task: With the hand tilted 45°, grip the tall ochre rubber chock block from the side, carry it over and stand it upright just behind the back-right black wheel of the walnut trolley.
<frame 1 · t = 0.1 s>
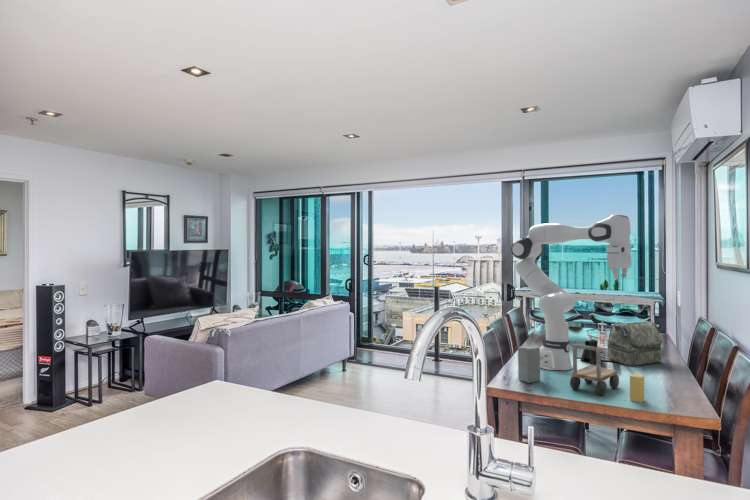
hand: (620, 278, 210), 48 cm above the table, tool pointing down, fingers open, 8 cm apart
trolley: (594, 388, 198), on the table
gray hexagonal prism: (529, 380, 211), on the table
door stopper: (591, 362, 242), on the table
lunch bag: (634, 361, 243), on the table
wheel chock: (637, 400, 182), on the table
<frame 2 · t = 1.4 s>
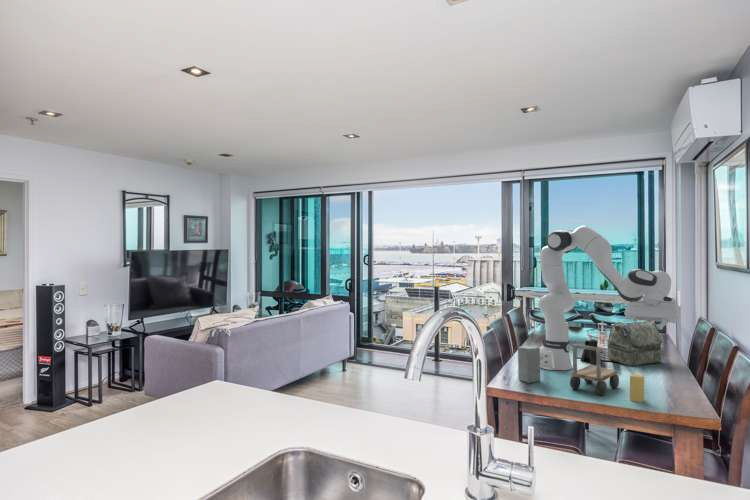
hand: (647, 327, 190), 28 cm above the table, tool tilted 45°, fingers open, 8 cm apart
nothing on the table moved.
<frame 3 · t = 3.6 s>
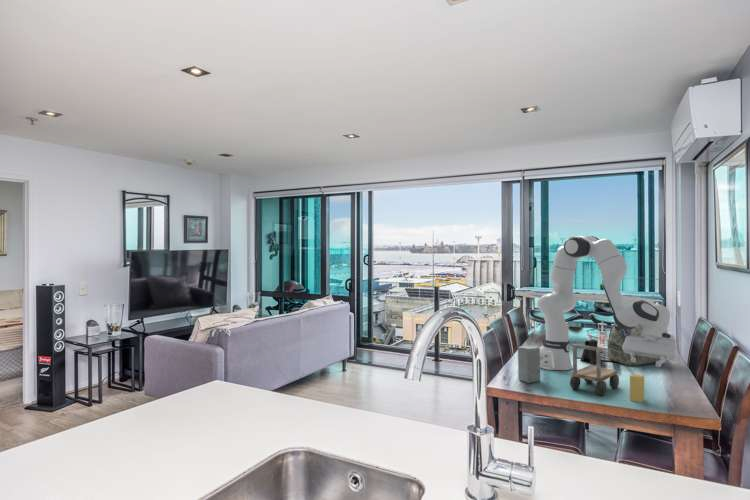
hand: (645, 363, 188), 13 cm above the table, tool tilted 45°, fingers open, 8 cm apart
nothing on the table moved.
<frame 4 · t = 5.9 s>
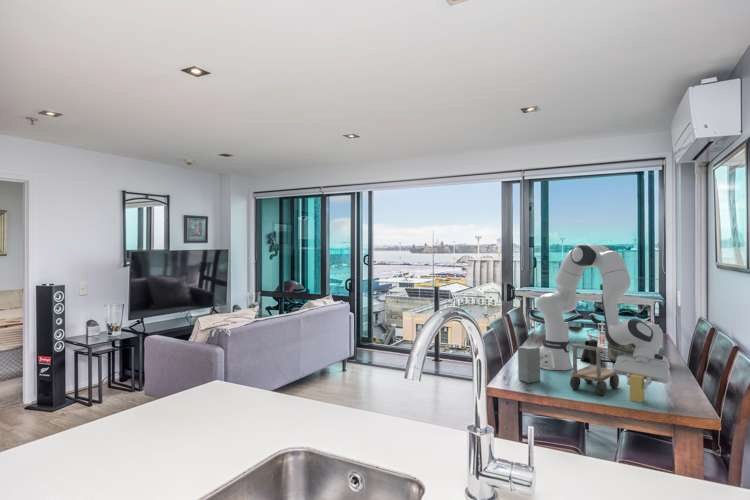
hand: (636, 386, 182), 6 cm above the table, tool tilted 45°, fingers closed on wheel chock, 4 cm apart
wheel chock: (637, 400, 182), on the table, touching gripper
everything else where it was.
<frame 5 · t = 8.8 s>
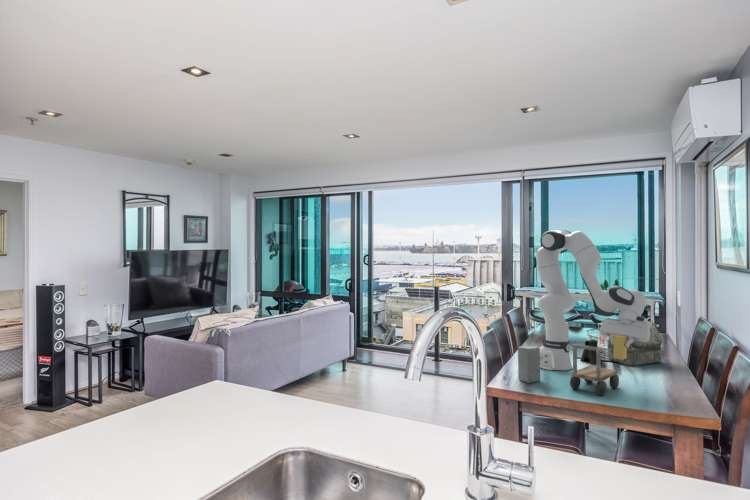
hand: (619, 345, 199), 19 cm above the table, tool tilted 45°, fingers closed on wheel chock, 4 cm apart
wheel chock: (619, 358, 200), point 13 cm above the table, touching gripper
everything else where it was.
when the fingers open (7 cm above the table, at t = 11.7 s): wheel chock drops 2 cm, on the table.
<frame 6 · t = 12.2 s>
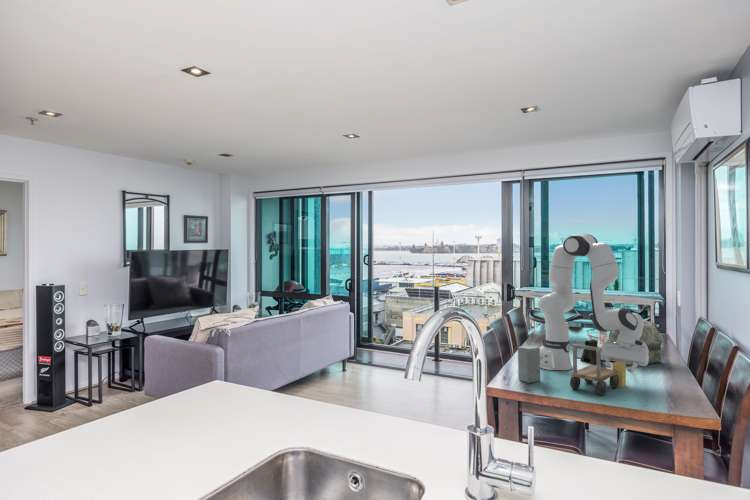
hand: (618, 369, 202), 7 cm above the table, tool tilted 45°, fingers open, 8 cm apart
wheel chock: (619, 385, 202), on the table
everything else where it was.
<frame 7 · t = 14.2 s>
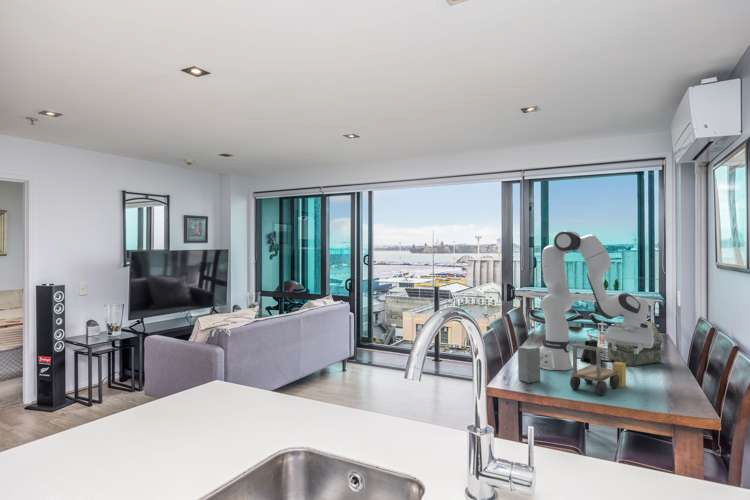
hand: (624, 351, 206), 14 cm above the table, tool tilted 45°, fingers open, 8 cm apart
nothing on the table moved.
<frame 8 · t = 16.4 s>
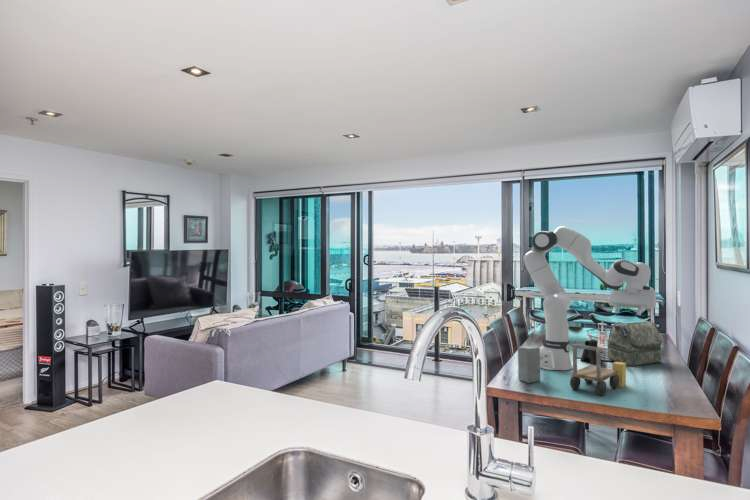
hand: (627, 313, 210), 31 cm above the table, tool tilted 45°, fingers open, 8 cm apart
nothing on the table moved.
at the end: wheel chock 0.5 cm from the target spot on the table beside the trolley, on the table; wheel chock tilted 0°; the gripper is holding nothing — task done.
